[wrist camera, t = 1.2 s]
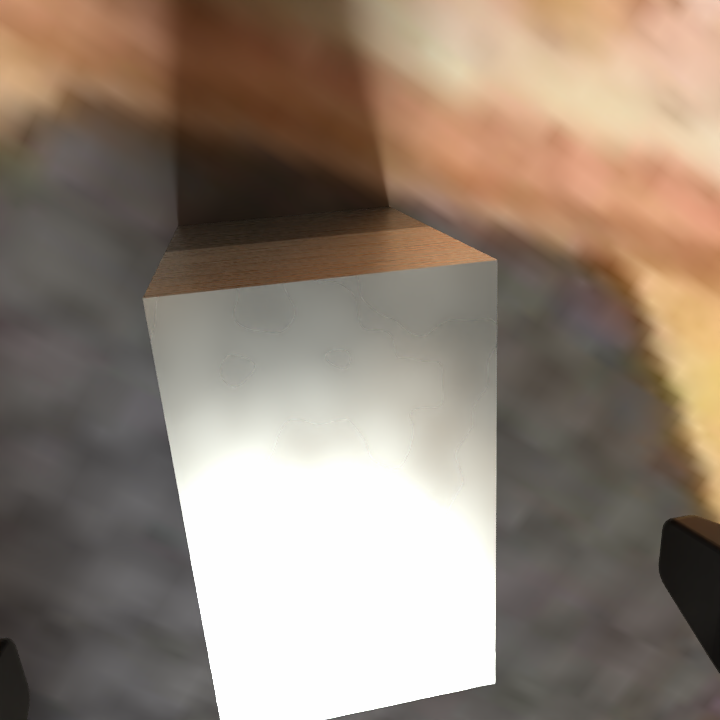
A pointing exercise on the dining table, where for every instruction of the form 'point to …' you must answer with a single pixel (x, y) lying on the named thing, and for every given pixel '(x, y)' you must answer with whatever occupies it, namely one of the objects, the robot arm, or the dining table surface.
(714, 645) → the robot arm
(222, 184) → the dining table surface
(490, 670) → the housing
